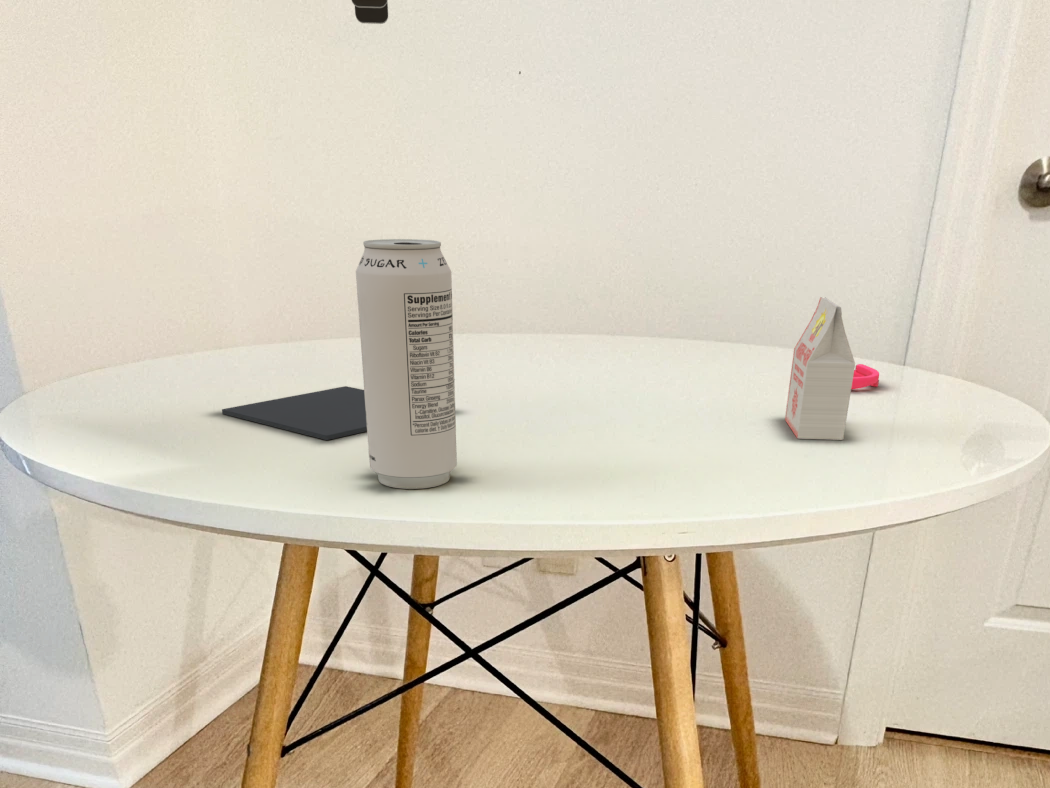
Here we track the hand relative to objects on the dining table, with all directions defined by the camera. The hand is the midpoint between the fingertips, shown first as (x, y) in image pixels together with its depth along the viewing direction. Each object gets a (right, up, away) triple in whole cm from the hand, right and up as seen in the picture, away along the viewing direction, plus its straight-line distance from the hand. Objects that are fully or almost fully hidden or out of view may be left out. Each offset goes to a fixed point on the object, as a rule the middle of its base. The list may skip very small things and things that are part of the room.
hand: (371, 15), depth 64 cm
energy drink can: (+2, -29, +6) cm, 29 cm away
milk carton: (+34, -21, +20) cm, 45 cm away
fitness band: (+42, -11, +38) cm, 58 cm away
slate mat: (-7, -18, +24) cm, 31 cm away
